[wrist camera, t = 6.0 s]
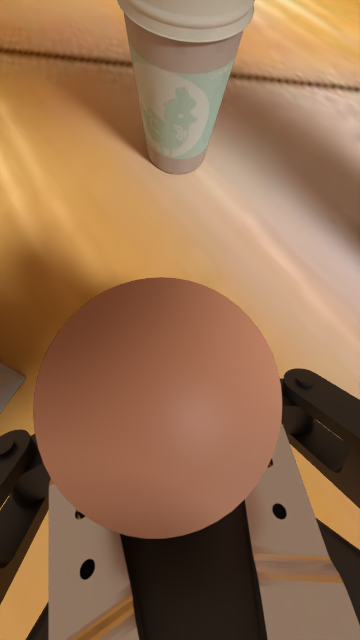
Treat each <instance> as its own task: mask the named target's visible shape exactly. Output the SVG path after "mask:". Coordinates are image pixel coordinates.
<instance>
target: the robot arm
mask: <svg viewBox="0 0 360 640" xmlns="http://www.w3.org/2000/svg"><path fill="white" fill-rule="evenodd" d="M280 383H281V392H282V420H281V426H280V432H279V437H278V440H277V444H276V447H275V450H274V453H273V455H272V458H271V460H270V462H269V465H268V467H267V469H266V471H265V472H264V474H263V476H262V477H261V479H260V480H259V482H258V484H257V485H256V486H255V488H254V489H253V490H252V491H251V492H250V494H249V495H248V496H247V497H246V499H244V500H243V501H242V502H241V503H240V504H239V505H238V506H237V507H236V508H235V509H234V510H233V511H231V512H230V513H229V514H227V515H226V516H224V517H223V518H221V519H220V520H219V521H217V522H215V523H213V524H211V525H209V526H207V527H205V528H203V529H201V530H198V531H195V532H192V533H189V534H186V535H183V536H177V537H171V538H165V539H145V538H138V537H132V536H126V535H123V534H120V533H117V532H114V531H111V530H108V529H106V528H105V527H103V526H101V525H99V524H97V523H95V522H93V521H91V520H90V519H89V518H87V517H86V516H85V515H83V514H82V513H80V512H79V511H78V510H77V509H76V508H75V507H74V506H73V505H72V504H71V503H70V502H69V501H68V500H67V499H66V498H65V497H64V496H63V495H62V493H61V492H60V491H59V489H58V488H57V487H56V485H55V484H54V483H53V481H52V479H51V477H50V475H49V473H48V471H47V470H46V468H45V466H44V463H43V460H42V457H41V455H40V452H39V449H38V445H37V440H36V435H35V434H34V435H32V436H30V435H29V433H28V432H27V431H25V430H14V431H10V432H8V433H6V434H4V435H2V436H0V508H1V506H2V505H3V503H4V502H5V500H6V499H7V497H8V496H9V498H8V499H7V501H6V502H5V504H4V505H3V507H2V508H1V510H0V604H1V602H2V600H3V598H4V596H5V594H6V592H7V590H8V588H9V587H10V585H11V583H12V581H13V579H14V577H15V575H16V573H17V571H18V569H19V567H20V565H21V563H22V561H23V559H24V557H25V555H26V553H27V551H28V549H29V547H30V545H31V543H32V541H33V539H34V537H35V535H36V533H37V531H38V529H39V527H40V525H41V523H42V521H43V519H44V517H45V515H46V513H47V511H48V509H49V601H48V603H47V605H46V606H45V608H44V610H43V611H42V613H41V615H40V616H39V618H38V620H37V621H36V623H35V625H34V626H33V628H32V630H31V631H30V633H29V635H28V637H27V638H26V640H360V550H359V549H358V548H356V547H355V546H353V545H352V544H351V543H349V542H348V541H347V540H345V539H344V538H343V537H341V536H340V535H339V534H337V533H336V532H335V531H333V530H332V529H330V528H329V527H328V526H326V525H325V524H324V523H322V522H321V521H320V520H318V519H317V518H316V517H315V515H314V512H313V509H312V507H311V504H310V501H309V498H308V495H307V492H306V489H305V487H304V484H303V481H302V478H301V475H300V472H299V469H298V467H297V464H296V461H295V458H294V455H293V452H292V449H291V447H290V444H291V445H292V446H293V447H294V448H295V449H296V450H297V451H298V452H300V453H301V454H302V455H303V456H304V457H305V458H306V459H307V460H308V461H309V462H310V463H311V464H312V465H314V466H315V467H316V468H317V469H318V470H319V471H320V472H321V473H322V474H323V475H324V476H325V477H326V478H328V479H329V480H330V481H331V482H332V483H333V484H334V485H335V486H336V487H337V488H338V489H339V490H340V491H341V492H343V493H344V494H345V495H346V496H347V497H348V498H349V499H350V500H351V501H352V502H353V503H354V504H355V505H357V506H358V507H359V508H360V400H359V399H357V398H355V397H354V396H352V395H350V394H349V393H347V392H346V391H344V390H342V389H341V388H339V387H337V386H336V385H334V384H332V383H331V382H329V381H327V380H326V379H324V378H322V377H321V376H319V375H317V374H316V373H314V372H312V371H309V370H306V369H291V370H289V371H287V372H286V373H285V375H284V379H280ZM316 420H317V421H316ZM318 421H319V422H320V423H321V424H320V423H319V422H318ZM323 425H324V426H325V427H324V426H323ZM327 428H328V429H329V430H330V431H329V430H328V429H327ZM331 431H332V432H333V433H334V434H333V433H332V432H331ZM335 434H336V435H337V436H338V437H337V436H336V435H335ZM339 437H340V438H341V439H342V440H343V441H342V440H341V439H340V438H339ZM289 443H290V444H289Z"/></svg>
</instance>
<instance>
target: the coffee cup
mask: <svg viewBox="0 0 360 640" xmlns="http://www.w3.org/2000/svg"><path fill="white" fill-rule="evenodd" d="M117 1H118V3H119V5H120V7H121V9H122V10H123V12H124V17H125V23H126V29H127V35H128V41H129V47H130V53H131V59H132V64H133V70H134V76H135V82H136V87H137V93H138V99H139V105H140V110H141V116H142V122H143V128H144V133H145V139H146V145H147V150H148V155H149V158H150V160H151V161H152V163H153V164H154V165H155V166H156V167H158V168H159V169H161V170H163V171H165V172H168V173H172V174H185V173H189V172H191V171H194V170H195V169H197V168H198V167H199V166H200V165H201V163H202V162H203V159H204V156H205V153H206V150H207V147H208V143H209V140H210V137H211V134H212V131H213V127H214V124H215V121H216V118H217V115H218V111H219V108H220V105H221V102H222V98H223V95H224V92H225V89H226V86H227V82H228V79H229V76H230V73H231V69H232V66H233V63H234V60H235V56H236V53H237V50H238V47H239V43H240V40H241V37H242V34H243V30H244V29H245V28H246V27H247V26H248V24H249V23H250V21H251V19H252V17H253V14H254V1H255V0H117Z"/></svg>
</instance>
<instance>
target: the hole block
mask: <svg viewBox="0 0 360 640" xmlns="http://www.w3.org/2000/svg"><path fill="white" fill-rule="evenodd" d="M25 378H26V377H25V376H23V375H21V374H19V373H18V372H16V371H14V370H13V369H11V368H9V367H7V366H6V365H4V364H2V363H1V362H0V413H1V412H2V410H3V409H4V408H5V406H6V405H7V403H8V402H9V401H10V399H11V398H12V396H13V395H14V394H15V392H16V391H17V389H18V388H19V387H20V385H21V384H22V382H23V381H24V380H25Z"/></svg>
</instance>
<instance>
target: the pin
mask: <svg viewBox="0 0 360 640" xmlns="http://www.w3.org/2000/svg"><path fill="white" fill-rule="evenodd" d="M33 417H34V431H35V435H36V440H37V445H38V449H39V452H40V455H41V457H42V460H43V463H44V466H45V468H46V470H47V471H48V473H49V475H50V477H51V479H52V481H53V483H54V484H55V485H56V487H57V488H58V489H59V491H60V492H61V493H62V495H63V496H64V497H65V498H66V499H67V500H68V501H69V502H70V503H71V504H72V505H73V506H74V507H75V508H76V509H77V510H78V511H79V512H80V513H82V514H83V515H85V516H86V517H87V518H89V519H90V520H91V521H93V522H95V523H97V524H99V525H101V526H103V527H105V528H106V529H108V530H111V531H114V532H117V533H120V534H123V535H126V536H132V537H138V538H145V539H165V538H171V537H177V536H183V535H186V534H189V533H192V532H195V531H198V530H201V529H203V528H205V527H207V526H209V525H211V524H213V523H215V522H217V521H219V520H220V519H221V518H223V517H224V516H226V515H227V514H229V513H230V512H231V511H233V510H234V509H235V508H236V507H237V506H238V505H239V504H240V503H241V502H242V501H243V500H244V499H246V497H247V496H248V495H249V494H250V492H251V491H252V490H253V489H254V488H255V486H256V485H257V484H258V482H259V480H260V479H261V477H262V476H263V474H264V472H265V471H266V469H267V467H268V465H269V462H270V460H271V458H272V455H273V453H274V450H275V447H276V444H277V440H278V437H279V432H280V426H281V420H282V392H281V383H280V378H279V373H278V369H277V366H276V363H275V360H274V357H273V354H272V352H271V350H270V348H269V346H268V344H267V342H266V340H265V338H264V337H263V335H262V333H261V332H260V330H259V329H258V327H257V326H256V325H255V324H254V322H253V321H252V320H251V319H250V317H249V316H248V315H247V314H246V313H245V312H244V311H243V310H242V309H241V308H240V307H239V306H237V305H236V304H235V303H233V302H232V301H231V300H229V299H228V298H227V297H225V296H223V295H222V294H220V293H218V292H217V291H215V290H213V289H210V288H208V287H206V286H204V285H201V284H198V283H194V282H191V281H187V280H182V279H176V278H162V277H160V278H146V279H140V280H135V281H131V282H127V283H124V284H121V285H118V286H116V287H113V288H111V289H109V290H107V291H105V292H103V293H101V294H100V295H98V296H96V297H94V298H93V299H91V300H90V301H89V302H87V303H86V304H85V305H84V306H82V307H81V308H80V309H79V310H78V311H77V312H76V313H75V314H74V315H73V316H71V317H70V318H69V319H68V321H67V322H66V323H65V324H64V326H63V327H62V328H61V329H60V331H59V332H58V334H57V335H56V337H55V338H54V340H53V342H52V343H51V345H50V347H49V349H48V351H47V353H46V355H45V357H44V359H43V362H42V365H41V368H40V371H39V374H38V377H37V383H36V388H35V393H34V406H33Z"/></svg>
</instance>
